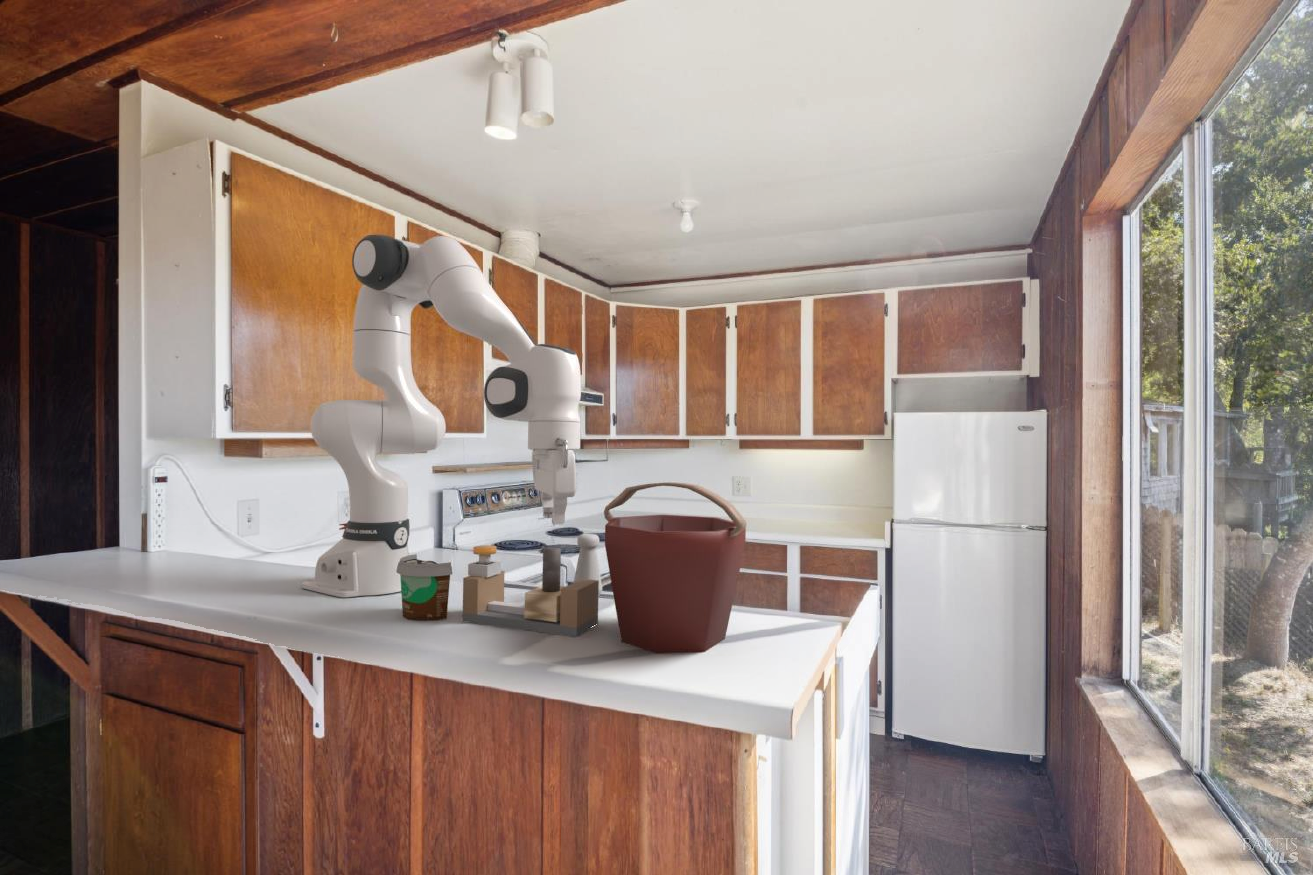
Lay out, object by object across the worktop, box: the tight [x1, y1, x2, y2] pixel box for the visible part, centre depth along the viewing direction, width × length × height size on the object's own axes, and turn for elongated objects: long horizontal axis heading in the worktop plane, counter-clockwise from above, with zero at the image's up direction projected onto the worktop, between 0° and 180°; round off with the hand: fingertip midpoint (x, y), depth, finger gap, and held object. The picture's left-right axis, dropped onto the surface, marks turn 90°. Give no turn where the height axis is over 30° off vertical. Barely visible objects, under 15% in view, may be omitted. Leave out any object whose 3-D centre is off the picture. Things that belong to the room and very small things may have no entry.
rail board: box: [462, 560, 599, 638], centre depth 112 cm, size 22×8×10 cm, turn 70°
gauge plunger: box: [472, 544, 497, 565], centre depth 115 cm, size 4×4×3 cm
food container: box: [396, 553, 453, 622], centre depth 114 cm, size 12×6×10 cm, turn 50°
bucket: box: [603, 481, 747, 654], centre depth 106 cm, size 24×22×25 cm
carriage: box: [524, 547, 567, 622], centre depth 111 cm, size 6×7×11 cm
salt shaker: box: [573, 533, 603, 599], centre depth 128 cm, size 6×6×13 cm
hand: (553, 520), depth 111 cm, fingers open, 8 cm apart
